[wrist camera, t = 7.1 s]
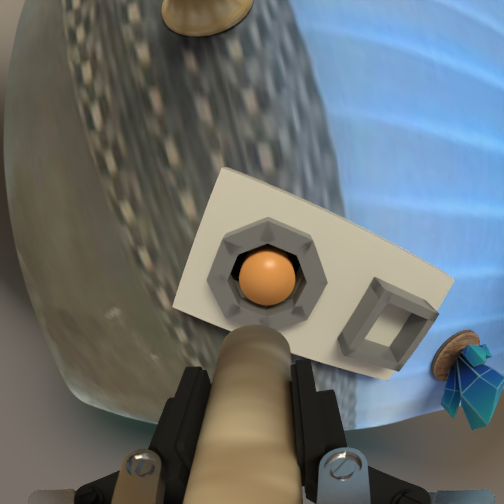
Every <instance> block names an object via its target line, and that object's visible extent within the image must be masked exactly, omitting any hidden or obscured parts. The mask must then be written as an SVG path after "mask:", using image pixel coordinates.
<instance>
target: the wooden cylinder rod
mask: <svg viewBox="0 0 504 504" xmlns="http://www.w3.org/2000/svg"><path fill="white" fill-rule="evenodd" d="M290 365H292V361H291V351H290V346H289V343H288V341H287V340H286V338H285V337H284V336H283V335H282V334H281V333H279V332H278V331H276V330H275V329H273V328H270V327H267V326H263V325H246V326H242V327H239V328H237V329H235V330H233V331H232V332H230V333H229V334H228V335H227V336H226V337H225V339H224V340H223V342H222V345H221V349H220V353H219V357H218V361H217V365H216V369H215V373H214V377H213V381H212V385H211V389H210V393H209V397H208V401H207V405H206V409H205V414H204V418H203V422H202V426H201V430H200V434H199V438H198V442H197V446H196V450H195V455H194V459H193V463H192V467H191V471H190V475H189V480H188V484H187V488H186V492H185V496H184V501H183V504H303V499H302V481H301V470H300V467H299V466H298V461H297V446H296V431H295V417H294V405H293V392H292V380H291V367H290Z"/></svg>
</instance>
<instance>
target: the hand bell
mask: <svg viewBox="0 0 504 504" xmlns="http://www.w3.org/2000/svg"><path fill="white" fill-rule="evenodd" d="M252 4H253V0H164V2H163V5H162V18H163V20H164V22H165V24H166V25H167V26H168V27H169V28H170V29H171V30H172V31H174V32H176V33H179V34H182V35H187V36H208V35H212V34H216V33H219V32H222V31H224V30H227V29H229V28H231V27H232V26H234V25H236V24H237V23H238V22H240V21H241V20H242V19H243V18H244V17H245V16H246V15H247V13H248V12H249V11H250V9H251V7H252Z"/></svg>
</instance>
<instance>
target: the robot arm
mask: <svg viewBox="0 0 504 504" xmlns="http://www.w3.org/2000/svg"><path fill="white" fill-rule="evenodd" d="M290 367H291V380H292V392H293V405H294V417H295V431H296V446H297V461H298V466H299V467H300V470H301V481H302V486H305V493H306V498H307V499H309V500H310V501H312V502H314V503H315V504H495V496H494V494H493V493H492V492H491V491H489V490H484V489H480V490H455V491H454V490H450V491H449V490H437V491H436V492H427V491H426V490H425V489H423V488H421V487H419V486H416V485H414V484H411V483H408V482H406V481H403V480H400V479H398V478H395V477H393V476H390V475H388V474H386V473H383V472H381V471H379V470H376V469H374V468H372V467H369V466H368V465H367V461H366V457H365V456H364V455H363V454H362V453H361V452H359V451H358V450H356V449H353V448H347V444H346V439H345V434H344V430H343V426H342V421H341V417H340V413H339V408H338V404H337V400H336V396H335V392H334V390H333V389H332V390H326V391H319V392H316V388H315V382H314V377H313V371H312V366H311V361H310V359H305V360H296V364H294V365H290ZM210 389H211V383H210V380H209V376H208V373H207V371H206V370H202V368H201V367H186V368H185V371H184V373H183V376H182V378H181V381H180V384H179V386H178V389H177V392H176V394H175V397H174V398H169V399H168V400H167V402H166V404H165V407H164V410H163V412H162V415H161V417H160V420H159V422H158V425H157V428H156V430H155V433H154V435H153V438H152V441H151V443H150V446H149V448H148V450H147V449H138V450H135V451H132V452H131V453H129V454H128V455H127V456H126V457H125V458H124V460H123V462H122V465H121V469H120V470H119V471H117V472H115V473H113V474H110V475H108V476H106V477H103V478H101V479H98V480H96V481H94V482H91V483H88V484H85V485H83V486H82V487H80V488H79V489H78V490H77V491H75V490H73V489H65V490H37V491H34V492H33V493H31V494H30V496H29V499H28V504H183V501H184V496H185V492H186V488H187V484H188V480H189V475H190V471H191V467H192V463H193V459H194V455H195V450H196V446H197V442H198V438H199V434H200V430H201V426H202V422H203V418H204V414H205V409H206V405H207V401H208V397H209V393H210Z"/></svg>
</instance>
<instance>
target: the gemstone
mask: <svg viewBox="0 0 504 504" xmlns="http://www.w3.org/2000/svg"><path fill="white" fill-rule="evenodd" d="M479 345H480V341H479V337H478V336H477V335H476V334H475V333H474V332H473V331H471V330H464V331H461V332H459V333H457V334H455V335H453V336H452V337H450V338H449V339H448V340H447V341H446V342H445V343H444V344H443V345H442V346H441V348H440V349H439V350H438V352H437V354H436V356H435V358H434V360H433V363H432V372H433V374H434V376H435V377H436V378H437V379H438V380H440V381H446V384H445V388H444V394H443V398H442V401H441V405H442V406H443V407H444V408H445V410H447V412H448V413H449V414H450V415H451V416H452V417H453V419H454V417H455V415H456V413H457V410H458V407H459V403H460V400H461V407H462V409H463V411H464V413H465V415H466V418H467V420H468V422H469V424H470V427H471V429H472V430H473V429H478V428H481V427H485V426H488V424H489V422H490V420H491V417H492V415H493V413H494V410H495V407H496V405H497V403H498V400H499V397H500V395H501V391H502V388H503V384H504V376H503V375H501V374H500V373H498V372H497V371H496V370H494V369H493V368H491V367H489V366H487V365H485V364H483V363H486V359H487V358H490V357H492V356H491V354H490V352H489V350H488V348H487V346H486V344H484V345H481V346H479Z"/></svg>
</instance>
